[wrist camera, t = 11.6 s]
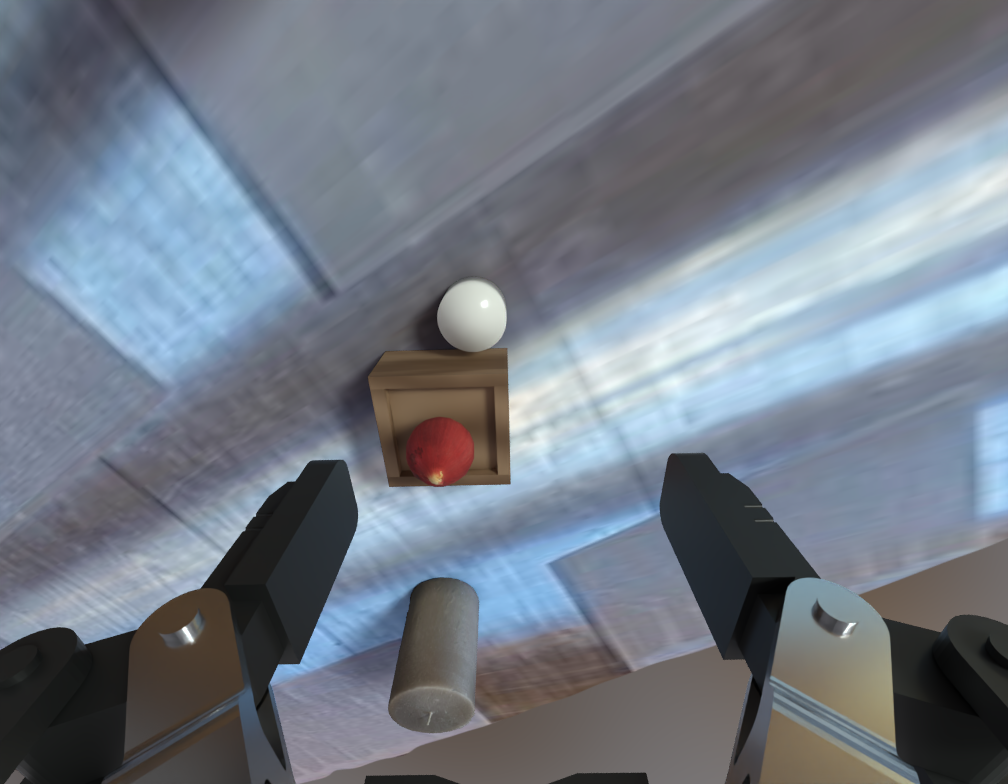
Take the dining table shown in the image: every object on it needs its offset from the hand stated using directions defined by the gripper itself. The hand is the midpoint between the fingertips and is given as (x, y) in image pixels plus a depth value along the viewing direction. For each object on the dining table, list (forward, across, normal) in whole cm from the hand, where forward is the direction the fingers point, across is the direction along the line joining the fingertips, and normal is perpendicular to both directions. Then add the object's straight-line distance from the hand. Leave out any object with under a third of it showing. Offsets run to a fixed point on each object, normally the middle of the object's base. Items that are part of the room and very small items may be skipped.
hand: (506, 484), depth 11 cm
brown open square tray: (+30, +6, +14) cm, 34 cm away
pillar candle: (+30, +9, +45) cm, 55 cm away
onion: (+25, +6, +14) cm, 29 cm away
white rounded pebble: (+30, +3, +4) cm, 31 cm away
